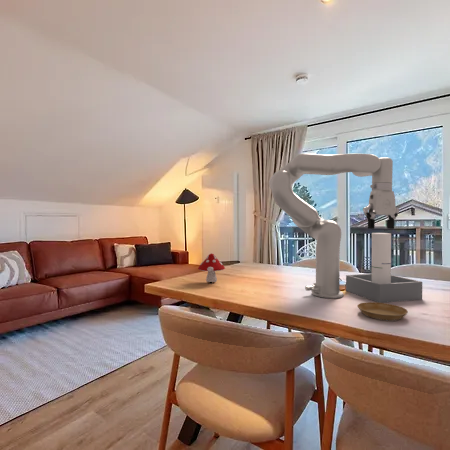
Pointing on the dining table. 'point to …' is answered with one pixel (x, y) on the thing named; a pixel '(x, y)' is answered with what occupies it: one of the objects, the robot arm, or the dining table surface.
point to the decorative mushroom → (211, 267)
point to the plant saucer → (382, 311)
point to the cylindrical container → (381, 258)
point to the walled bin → (384, 288)
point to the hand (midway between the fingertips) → (380, 228)
